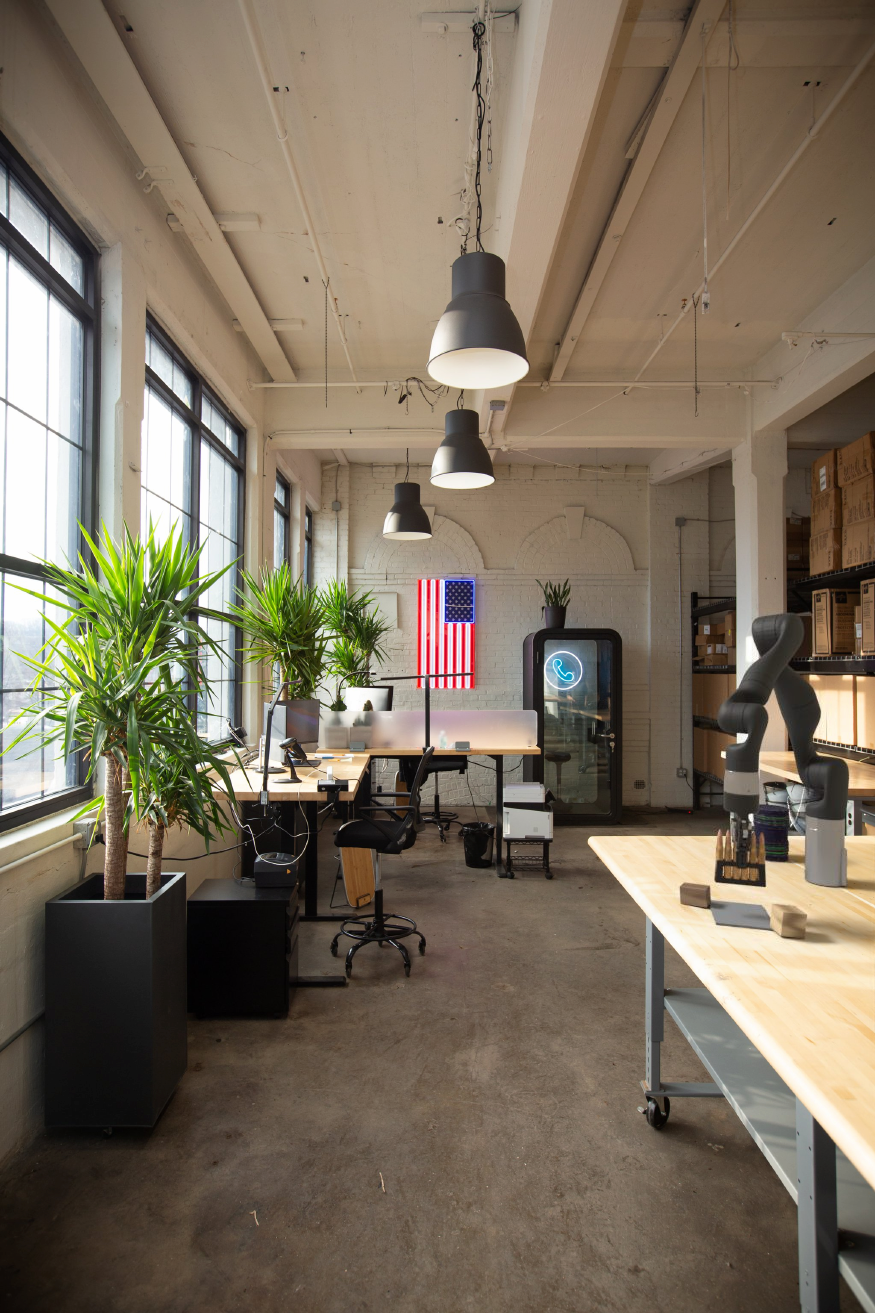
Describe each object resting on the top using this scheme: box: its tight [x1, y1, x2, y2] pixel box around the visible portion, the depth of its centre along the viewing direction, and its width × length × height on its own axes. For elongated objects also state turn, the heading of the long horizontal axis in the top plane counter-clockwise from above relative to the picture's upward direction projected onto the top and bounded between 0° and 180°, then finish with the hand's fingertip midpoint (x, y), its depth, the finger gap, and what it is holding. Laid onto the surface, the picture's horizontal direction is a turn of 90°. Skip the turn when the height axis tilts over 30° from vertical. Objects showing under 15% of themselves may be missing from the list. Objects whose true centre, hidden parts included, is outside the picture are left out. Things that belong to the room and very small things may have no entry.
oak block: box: [770, 903, 808, 939], centre depth 150 cm, size 5×5×5 cm
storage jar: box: [752, 803, 790, 863], centre depth 211 cm, size 10×10×15 cm
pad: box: [708, 899, 774, 932], centre depth 160 cm, size 12×16×1 cm
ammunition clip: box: [713, 829, 767, 888], centre depth 161 cm, size 11×2×12 cm, turn 75°
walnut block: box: [679, 881, 712, 908], centre depth 167 cm, size 4×6×4 cm, turn 56°
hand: (740, 866), depth 161 cm, fingers closed on ammunition clip, 2 cm apart
